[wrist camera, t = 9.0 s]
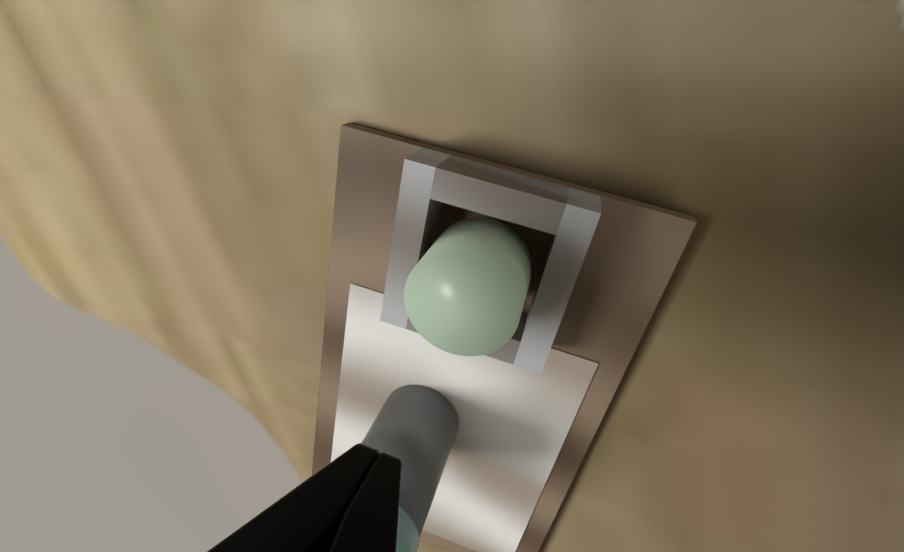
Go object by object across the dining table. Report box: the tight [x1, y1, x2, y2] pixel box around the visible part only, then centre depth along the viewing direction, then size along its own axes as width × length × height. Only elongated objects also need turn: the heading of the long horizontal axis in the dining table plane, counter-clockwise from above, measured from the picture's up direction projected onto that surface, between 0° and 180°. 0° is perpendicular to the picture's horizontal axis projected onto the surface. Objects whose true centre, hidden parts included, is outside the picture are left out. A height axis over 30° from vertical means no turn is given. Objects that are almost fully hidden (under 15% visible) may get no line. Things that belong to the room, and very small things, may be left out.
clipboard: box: [312, 123, 697, 552], centre depth 20 cm, size 20×12×2 cm, turn 169°
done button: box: [404, 217, 532, 356], centre depth 15 cm, size 3×3×3 cm
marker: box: [362, 385, 459, 552], centre depth 18 cm, size 4×4×7 cm
